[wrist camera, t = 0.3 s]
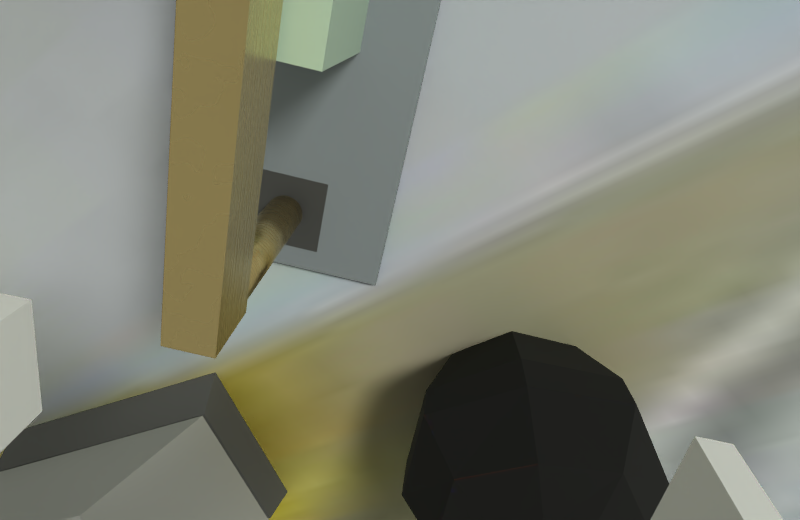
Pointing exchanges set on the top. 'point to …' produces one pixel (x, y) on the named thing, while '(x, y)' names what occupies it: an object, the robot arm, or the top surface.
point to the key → (219, 170)
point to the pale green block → (320, 32)
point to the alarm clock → (142, 462)
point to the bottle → (530, 439)
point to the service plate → (348, 141)
